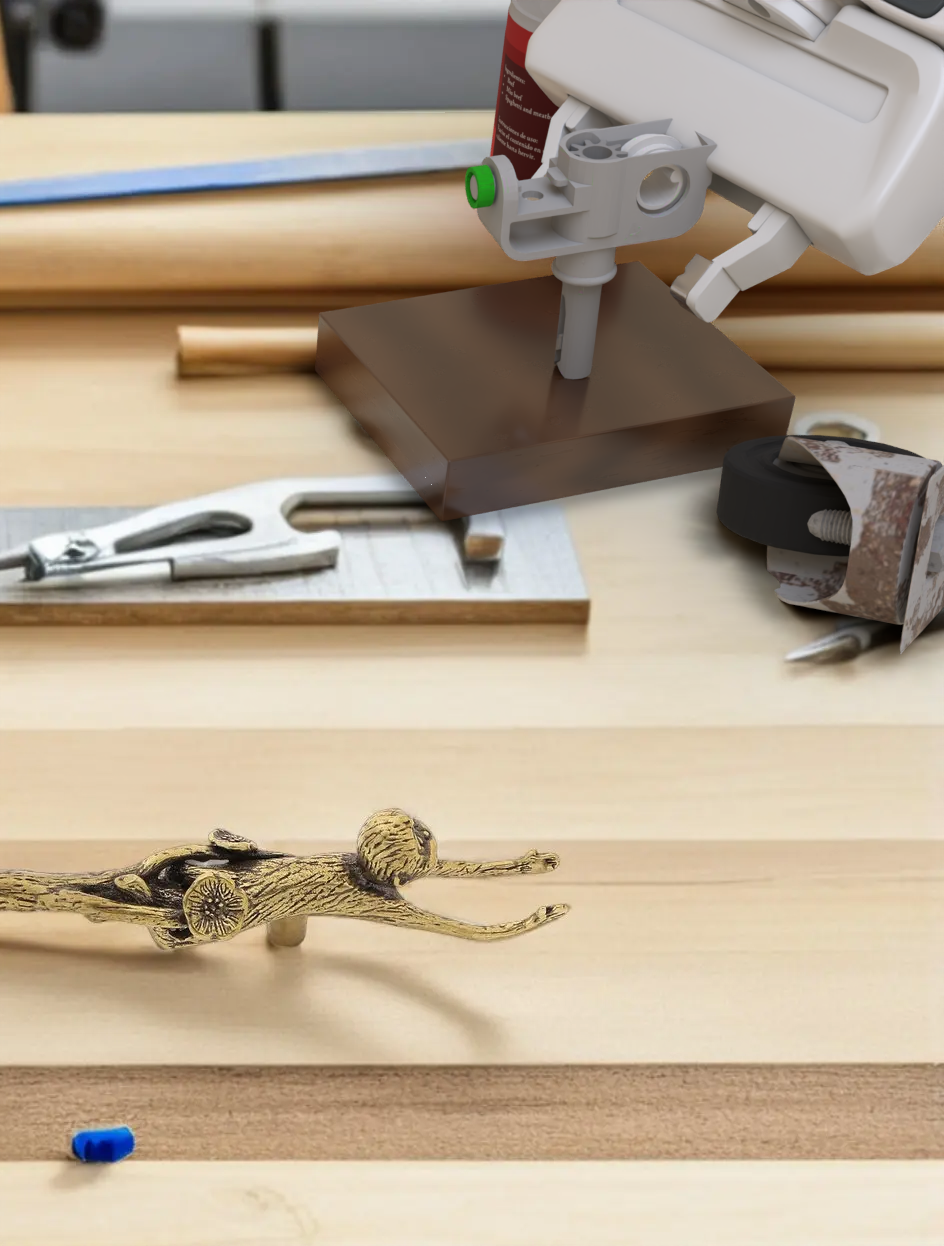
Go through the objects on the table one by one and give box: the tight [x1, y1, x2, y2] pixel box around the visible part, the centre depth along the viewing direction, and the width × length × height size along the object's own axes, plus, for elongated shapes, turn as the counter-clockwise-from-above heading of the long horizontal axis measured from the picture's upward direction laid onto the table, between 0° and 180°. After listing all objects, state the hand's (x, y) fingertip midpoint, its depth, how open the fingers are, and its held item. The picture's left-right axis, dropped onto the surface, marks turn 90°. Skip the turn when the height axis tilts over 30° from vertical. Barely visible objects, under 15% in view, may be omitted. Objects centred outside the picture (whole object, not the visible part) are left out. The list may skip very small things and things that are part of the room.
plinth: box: [314, 260, 797, 522], centre depth 90 cm, size 16×13×3 cm
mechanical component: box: [464, 118, 717, 379], centre depth 85 cm, size 3×10×10 cm, turn 103°
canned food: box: [489, 0, 561, 181], centre depth 102 cm, size 8×8×11 cm
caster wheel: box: [716, 434, 944, 656], centre depth 81 cm, size 7×11×10 cm
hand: (608, 260), depth 85 cm, fingers open, 8 cm apart
